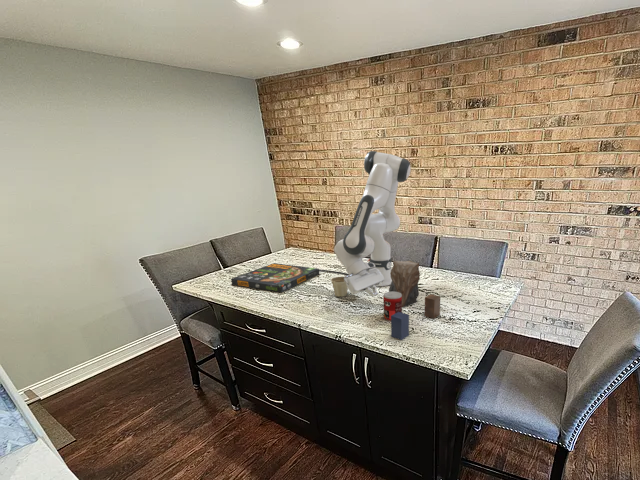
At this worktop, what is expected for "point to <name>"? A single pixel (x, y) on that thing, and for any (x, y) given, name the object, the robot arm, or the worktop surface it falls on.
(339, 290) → the flower pot
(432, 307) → the walnut block
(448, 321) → the worktop surface
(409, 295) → the owl
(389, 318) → the canned food
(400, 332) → the blue block
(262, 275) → the pizza box
